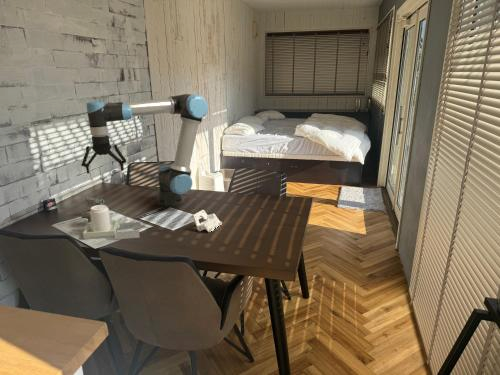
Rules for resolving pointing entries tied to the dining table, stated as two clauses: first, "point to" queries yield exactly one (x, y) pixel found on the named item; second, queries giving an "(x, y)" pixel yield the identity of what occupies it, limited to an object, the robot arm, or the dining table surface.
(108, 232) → the parts tray
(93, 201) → the mechanical component
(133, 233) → the tensioner cradle
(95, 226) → the white jar
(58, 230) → the dining table surface
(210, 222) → the mounting bracket
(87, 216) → the idler pulley
